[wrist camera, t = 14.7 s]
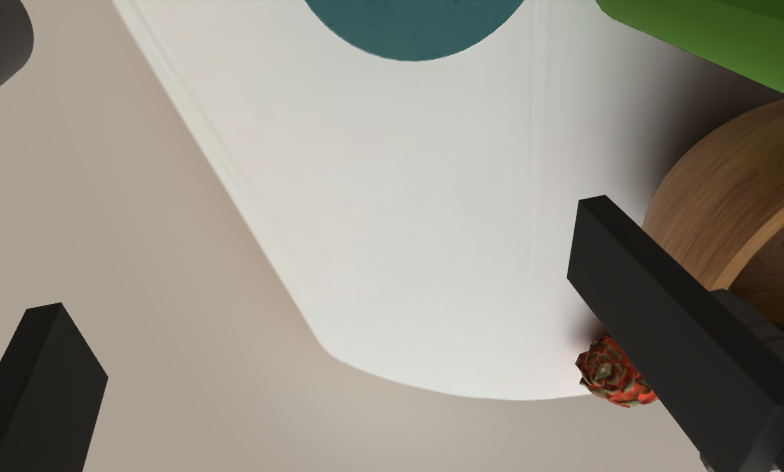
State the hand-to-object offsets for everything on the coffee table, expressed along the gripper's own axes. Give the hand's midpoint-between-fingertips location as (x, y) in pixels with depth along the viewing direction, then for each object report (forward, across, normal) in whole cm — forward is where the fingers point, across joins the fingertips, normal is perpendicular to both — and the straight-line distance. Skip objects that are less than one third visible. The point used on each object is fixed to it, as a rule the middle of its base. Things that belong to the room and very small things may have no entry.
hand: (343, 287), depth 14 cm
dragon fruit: (+25, +30, -39) cm, 55 cm away
